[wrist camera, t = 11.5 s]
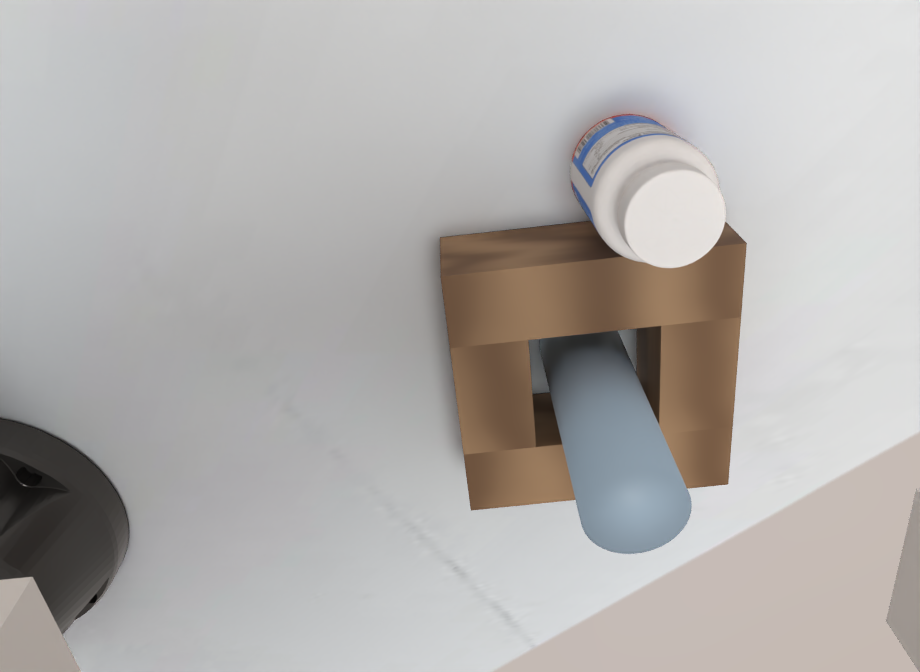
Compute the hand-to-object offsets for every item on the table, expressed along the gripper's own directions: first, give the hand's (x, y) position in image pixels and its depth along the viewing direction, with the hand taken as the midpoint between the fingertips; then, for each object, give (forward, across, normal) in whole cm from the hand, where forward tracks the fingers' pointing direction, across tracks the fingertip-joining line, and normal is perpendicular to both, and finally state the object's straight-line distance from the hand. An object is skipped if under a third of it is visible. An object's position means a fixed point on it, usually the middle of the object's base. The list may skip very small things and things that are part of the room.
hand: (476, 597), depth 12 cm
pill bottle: (+29, +8, -2) cm, 31 cm away
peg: (+29, +6, -12) cm, 32 cm away
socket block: (+29, +6, -12) cm, 32 cm away
